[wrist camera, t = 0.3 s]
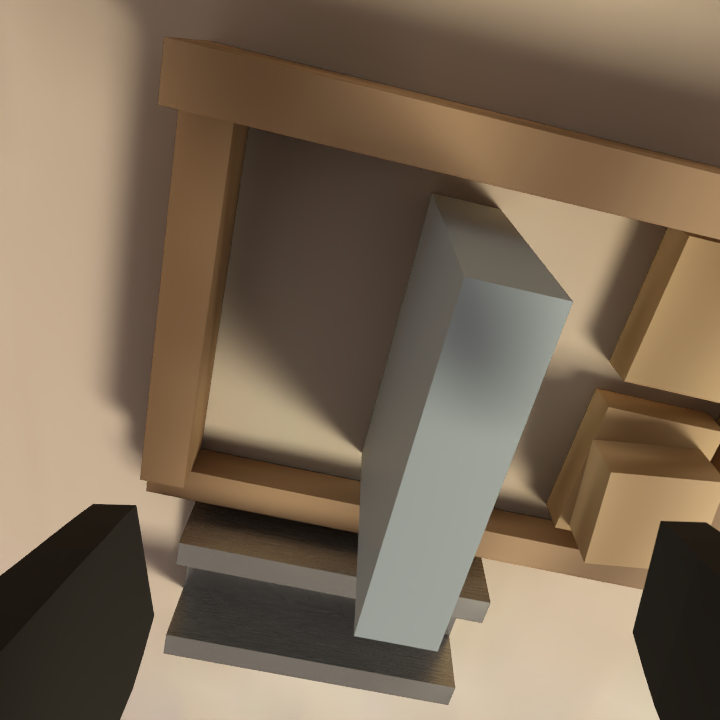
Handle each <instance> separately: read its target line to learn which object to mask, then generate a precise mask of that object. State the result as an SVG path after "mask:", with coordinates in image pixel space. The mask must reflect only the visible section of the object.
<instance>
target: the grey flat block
mask: <svg viewBox="0 0 720 720" xmlns="http://www.w3.org/2000/svg"><path fill="white" fill-rule="evenodd" d="M572 303H573V301H572V300H571V298H570V297H569V296H568V294H567V293H566V292H565V291H564V289H563V288H562V287H561V286H560V284H559V283H558V282H557V280H556V279H555V278H554V277H553V275H552V274H551V273H550V272H549V270H548V269H547V268H546V266H545V265H544V264H543V263H542V261H541V260H540V259H539V258H538V256H537V255H536V254H535V253H534V251H533V250H532V249H531V247H530V246H529V245H528V244H527V242H526V241H525V240H524V239H523V237H522V236H521V235H520V233H519V232H518V231H517V230H516V228H515V227H514V226H513V225H512V223H511V222H510V221H509V219H508V218H507V217H506V216H505V214H504V213H503V212H502V211H501V209H498V208H493V207H489V206H485V205H481V204H477V203H472V202H468V201H464V200H460V199H456V198H451V197H447V196H443V195H439V194H435V193H432V196H431V200H430V203H429V207H428V211H427V214H426V218H425V222H424V225H423V229H422V233H421V236H420V240H419V244H418V248H417V251H416V255H415V259H414V262H413V266H412V270H411V273H410V277H409V281H408V285H407V288H406V292H405V296H404V299H403V303H402V307H401V310H400V314H399V318H398V321H397V325H396V329H395V333H394V336H393V340H392V344H391V347H390V351H389V355H388V358H387V362H386V366H385V370H384V373H383V377H382V381H381V384H380V388H379V392H378V395H377V399H376V403H375V407H374V410H373V414H372V418H371V421H370V425H369V429H368V432H367V436H366V440H365V443H364V447H363V451H362V464H361V487H360V510H359V533H358V556H357V579H356V602H355V625H354V636H357V637H362V638H367V639H373V640H378V641H383V642H389V643H394V644H399V645H405V646H410V647H415V648H421V649H426V650H431V651H437V652H438V649H439V647H440V644H441V642H442V639H443V636H444V634H445V631H446V629H447V626H448V624H449V621H450V618H451V616H452V613H453V611H454V608H455V605H456V603H457V600H458V598H459V595H460V593H461V590H462V587H463V585H464V582H465V580H466V577H467V574H468V572H469V569H470V567H471V564H472V562H473V559H474V556H475V554H476V551H477V549H478V546H479V544H480V541H481V538H482V536H483V533H484V531H485V528H486V525H487V523H488V520H489V518H490V515H491V513H492V510H493V507H494V505H495V502H496V500H497V497H498V494H499V492H500V489H501V487H502V484H503V482H504V479H505V476H506V474H507V471H508V469H509V466H510V463H511V461H512V458H513V456H514V453H515V451H516V448H517V445H518V443H519V440H520V438H521V435H522V433H523V430H524V427H525V425H526V422H527V420H528V417H529V414H530V412H531V409H532V407H533V404H534V402H535V399H536V396H537V394H538V391H539V389H540V386H541V383H542V381H543V378H544V376H545V373H546V371H547V368H548V365H549V363H550V360H551V358H552V355H553V352H554V350H555V347H556V345H557V342H558V340H559V337H560V334H561V332H562V329H563V327H564V324H565V321H566V319H567V316H568V314H569V311H570V309H571V306H572Z"/></svg>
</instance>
